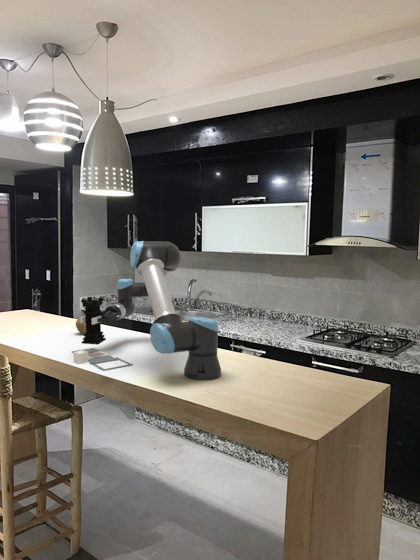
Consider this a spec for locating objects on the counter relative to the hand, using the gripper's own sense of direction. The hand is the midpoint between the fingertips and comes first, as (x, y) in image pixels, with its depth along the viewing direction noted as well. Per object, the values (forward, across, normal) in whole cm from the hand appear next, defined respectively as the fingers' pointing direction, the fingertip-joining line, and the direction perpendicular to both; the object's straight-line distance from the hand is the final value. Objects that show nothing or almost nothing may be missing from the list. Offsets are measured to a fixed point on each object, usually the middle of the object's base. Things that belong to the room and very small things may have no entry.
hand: (86, 320), depth 199 cm
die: (+5, 0, -17) cm, 18 cm away
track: (-5, 0, -17) cm, 18 cm away
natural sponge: (-41, +30, -18) cm, 54 cm away
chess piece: (-5, 0, -11) cm, 12 cm away
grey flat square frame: (+3, -14, -17) cm, 22 cm away
